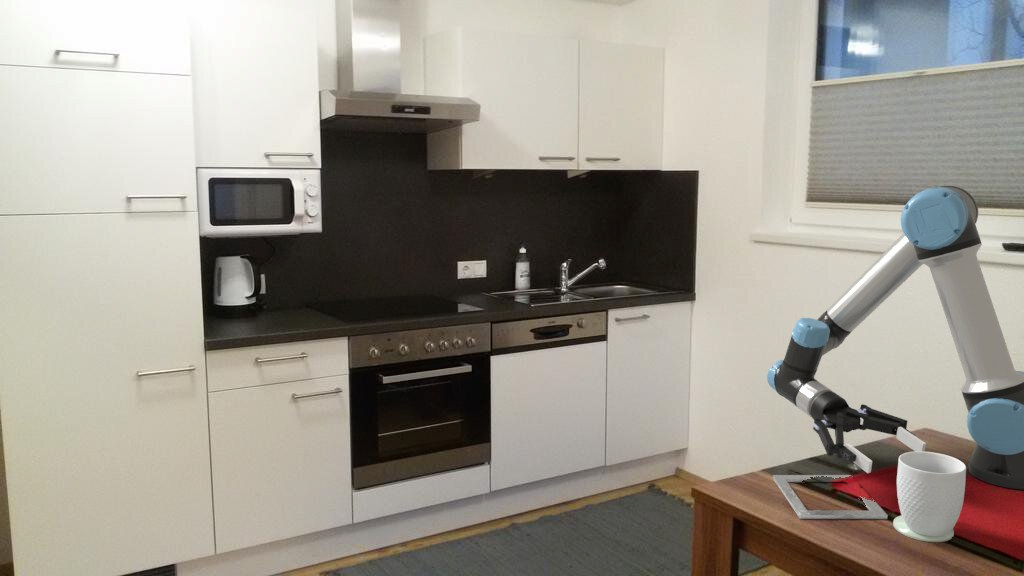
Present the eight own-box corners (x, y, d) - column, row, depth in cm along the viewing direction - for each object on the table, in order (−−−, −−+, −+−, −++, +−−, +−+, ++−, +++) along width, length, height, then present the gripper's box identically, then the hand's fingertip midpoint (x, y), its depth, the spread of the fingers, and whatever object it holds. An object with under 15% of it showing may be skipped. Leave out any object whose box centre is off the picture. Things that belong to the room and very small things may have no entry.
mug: (871, 509, 154) (874, 445, 152) (924, 505, 155) (928, 442, 153) (917, 545, 140) (921, 475, 137) (975, 541, 141) (980, 471, 138)
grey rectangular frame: (850, 478, 170) (850, 475, 170) (887, 519, 151) (887, 515, 151) (772, 478, 171) (773, 475, 171) (799, 518, 152) (800, 514, 152)
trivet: (938, 517, 151) (938, 514, 151) (964, 542, 141) (964, 539, 141) (884, 517, 152) (884, 514, 152) (907, 542, 142) (907, 538, 142)
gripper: (865, 405, 180) (941, 457, 162) (774, 433, 172) (844, 490, 154) (869, 377, 177) (948, 426, 159) (777, 404, 169) (849, 459, 151)
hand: (897, 458), depth 156 cm, fingers open, 13 cm apart
